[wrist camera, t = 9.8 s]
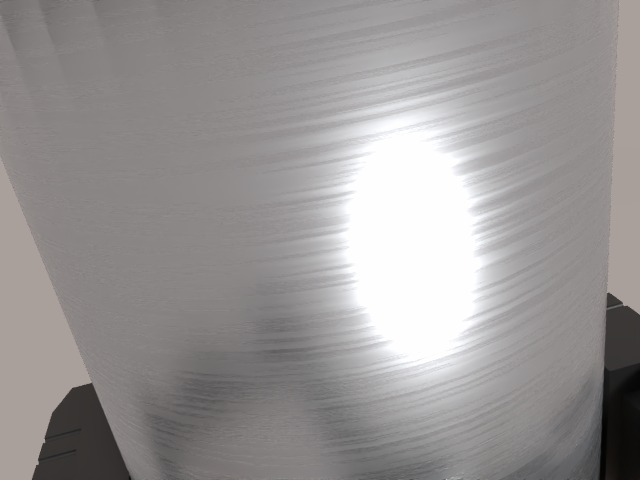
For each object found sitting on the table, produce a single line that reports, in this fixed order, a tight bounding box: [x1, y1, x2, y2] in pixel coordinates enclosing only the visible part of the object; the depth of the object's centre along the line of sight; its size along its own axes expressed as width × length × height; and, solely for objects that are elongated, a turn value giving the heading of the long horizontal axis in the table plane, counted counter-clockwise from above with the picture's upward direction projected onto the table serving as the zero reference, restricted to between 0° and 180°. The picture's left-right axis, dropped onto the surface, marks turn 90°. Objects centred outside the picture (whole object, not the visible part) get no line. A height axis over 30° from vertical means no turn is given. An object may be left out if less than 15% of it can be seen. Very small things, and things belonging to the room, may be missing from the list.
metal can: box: [0, 0, 619, 480], centre depth 8 cm, size 6×6×17 cm
